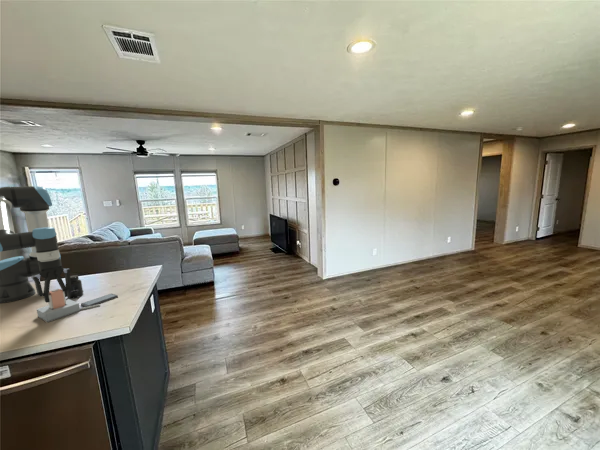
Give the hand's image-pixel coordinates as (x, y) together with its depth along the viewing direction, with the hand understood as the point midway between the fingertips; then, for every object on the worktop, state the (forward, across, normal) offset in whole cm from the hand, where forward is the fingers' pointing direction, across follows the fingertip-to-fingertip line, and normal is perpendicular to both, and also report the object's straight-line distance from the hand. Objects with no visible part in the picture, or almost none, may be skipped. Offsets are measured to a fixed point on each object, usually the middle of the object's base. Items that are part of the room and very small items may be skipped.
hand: (58, 305), depth 119 cm
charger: (0, 0, 0) cm, 0 cm away
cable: (+4, +10, -7) cm, 12 cm away
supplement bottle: (+4, +13, +20) cm, 24 cm away
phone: (+4, +16, -2) cm, 17 cm away
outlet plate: (+4, 0, 0) cm, 4 cm away
